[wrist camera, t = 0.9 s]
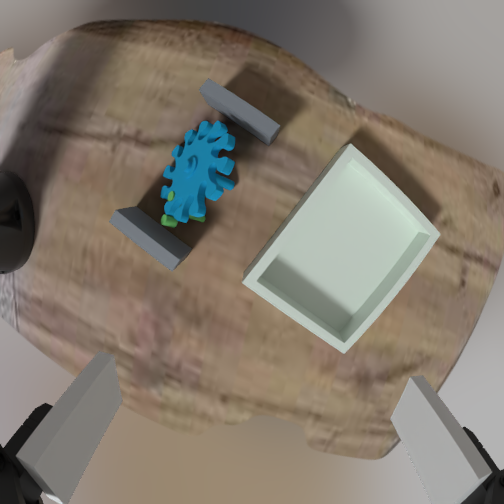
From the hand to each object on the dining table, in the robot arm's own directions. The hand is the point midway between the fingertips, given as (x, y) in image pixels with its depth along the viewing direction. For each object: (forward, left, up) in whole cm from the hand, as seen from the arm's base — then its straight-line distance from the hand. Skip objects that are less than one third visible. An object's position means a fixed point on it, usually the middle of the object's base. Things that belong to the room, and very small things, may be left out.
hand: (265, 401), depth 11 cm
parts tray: (+6, +7, -21) cm, 23 cm away
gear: (-11, +4, -21) cm, 24 cm away
